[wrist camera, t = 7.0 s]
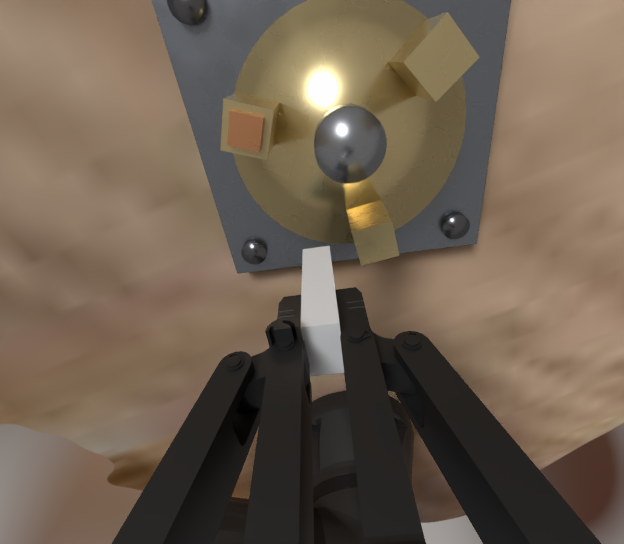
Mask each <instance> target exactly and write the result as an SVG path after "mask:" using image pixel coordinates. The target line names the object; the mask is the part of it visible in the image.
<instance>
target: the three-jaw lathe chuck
mask: <svg viewBox="0 0 624 544" xmlns="http://www.w3.org/2000/svg"><path fill="white" fill-rule="evenodd" d="M479 58H480V57H479V56H478V54H477V53H476V51H475V50H474V48H473V47H472V46H471V44H470V43H469V41H468V40H467V39H466V37H465V36H464V34H463V33H462V31H461V30H460V29H459V27H458V26H457V24H456V23H455V21H454V20H453V19H452V17H451V16H450V14H449V13H448V12H446V13H443V14H440V15H438V16H435V17H432V18H429V19H428V18H427V17H426V16H425V15H423V14H422V13H421V12H420V11H419V10H417V9H416V8H414V7H412V6H411V5H409V4H407V3H406V2H404V1H402V0H307V1H305V2H303V3H301V4H299V5H297V6H295V7H294V8H292V9H291V10H289V11H288V12H287V13H285V14H284V15H283V16H281V17H280V18H278V19H277V20H276V21H275V22H274V23H273V24H272V25H271V26H270V27H269V28H268V29H267V30H266V31H265V32H264V33H263V35H262V36H261V37H260V39H259V40H258V41H257V43H256V44H255V45H254V47H253V48H252V50H251V52H250V53H249V55H248V57H247V59H246V60H245V62H244V64H243V67H242V69H241V72H240V74H239V76H238V79H237V82H236V86H235V90H234V93H233V95H230V96H228V97H226V98H223V114H222V130H221V147H220V150H221V151H226V152H231V153H233V154H234V158H235V162H236V165H237V168H238V171H239V173H240V176H241V178H242V180H243V182H244V184H245V186H246V188H247V190H248V191H249V193H250V194H251V196H252V197H253V198H254V200H255V201H256V203H257V204H258V205H259V206H260V207H261V208H262V209H263V210H264V212H265V213H267V214H268V215H269V216H270V217H271V218H272V219H273V220H274V221H276V222H277V223H279V224H280V225H282V226H283V227H284V228H286V229H288V230H290V231H292V232H294V233H295V234H298V235H300V236H303V237H305V238H308V239H312V240H316V241H320V242H326V243H334V244H348V243H355V246H356V250H357V253H358V257H359V260H360V264H361V266H363V265H367V264H371V263H374V262H378V261H382V260H385V259H389V258H392V257H396V256H399V251H398V246H397V242H396V237H395V232H394V230H396V229H398V228H400V227H401V226H403V225H404V224H406V223H408V222H409V221H410V220H412V219H413V218H414V217H415V216H417V215H418V214H419V213H420V212H421V211H422V210H423V209H424V208H425V207H426V206H427V205H429V204H430V202H431V201H432V200H433V199H434V198H435V196H436V195H437V194H438V193H439V191H440V190H441V188H442V187H443V185H444V184H445V182H446V181H447V179H448V177H449V175H450V173H451V171H452V169H453V167H454V165H455V163H456V160H457V157H458V155H459V152H460V149H461V145H462V141H463V136H464V131H465V122H466V96H465V89H464V82H463V78H462V75H463V74H464V73H465V72H466V71H467V70H468V69H469V68H470V67H471V66H472V65H473V64H474V63H475V62H476V61H477V60H478V59H479Z"/></svg>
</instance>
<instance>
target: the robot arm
mask: <svg viewBox="0 0 624 544" xmlns="http://www.w3.org/2000/svg"><path fill="white" fill-rule="evenodd" d="M277 317H278V318H277V320H276V321H274V322H272V323H271V324H270V325H269V326H267V328H266V331H265V332H266V335H267V339H268V342H269V346H270V348H269V349H267V350H266V351H264V352H262V353H260V354H257V355H255V356H252V357H251V356H250V355H249V354H248V353H246V352H242V351H240V352H234V353H231V354H229V355H227V356H226V357H224V358H223V359H222V360H221V362H220V363H219V364H218V366H217V368H216V369H215V371H214V373H213V375H212V376H211V378H210V380H209V381H208V383H207V385H206V386H205V388H204V390H203V391H202V393H201V395H200V396H199V398H198V400H197V401H196V403H195V405H194V406H193V408H192V410H191V411H190V413H189V415H188V416H187V418H186V420H185V422H184V423H183V425H182V427H181V428H180V430H179V432H178V433H177V435H176V437H175V438H174V440H173V442H172V443H171V445H170V447H169V448H168V450H167V452H166V453H165V455H164V457H163V458H162V460H161V462H160V464H159V465H158V467H157V469H156V470H155V472H154V474H153V475H152V477H151V479H150V480H149V482H148V484H147V485H146V487H145V489H144V490H143V492H142V494H141V496H140V497H139V499H138V500H137V502H136V504H135V506H134V507H133V509H132V511H131V512H130V514H129V516H128V517H127V519H126V521H125V522H124V524H123V526H122V527H121V529H120V531H119V532H118V534H117V536H116V538H115V539H114V541H113V543H112V544H426V542H425V539H424V535H423V531H422V527H421V523H420V519H419V514H418V510H417V506H416V503H415V498H414V494H413V490H412V484H411V479H412V461H413V443H414V434H413V429H412V425H411V422H410V419H411V421H412V423H413V424H414V426H415V428H416V429H417V431H418V433H419V434H420V436H421V438H422V440H423V441H424V443H425V445H426V446H427V448H428V450H429V452H430V453H431V455H432V457H433V458H434V460H435V462H436V464H437V465H438V467H439V469H440V470H441V472H442V474H443V475H444V477H445V479H446V481H447V482H448V484H449V486H450V487H451V489H452V491H453V493H454V494H455V496H456V498H457V499H458V501H459V503H460V505H461V506H462V508H463V510H464V511H465V513H466V515H467V516H468V518H469V520H470V522H471V523H472V525H473V527H474V528H475V530H476V532H477V534H478V535H479V537H480V539H481V540H482V542H483V544H601V543H600V542H599V540H598V539H597V538H596V537H595V536H594V534H593V533H592V532H591V531H590V530H589V529H588V527H587V526H586V525H585V524H584V523H583V521H582V520H581V519H580V518H579V517H578V516H577V514H576V513H575V512H574V511H573V510H572V508H571V507H570V506H569V505H568V504H567V502H566V501H565V500H564V499H563V498H562V497H561V495H560V494H559V493H558V492H557V491H556V490H555V488H554V487H553V486H552V485H551V484H550V482H549V481H548V480H547V479H546V478H545V476H544V475H543V474H542V473H541V472H540V470H539V469H538V468H537V467H536V466H535V465H534V463H533V462H532V461H531V460H530V459H529V457H528V456H527V455H526V454H525V453H524V452H523V450H522V449H521V448H520V447H519V446H518V444H517V443H516V442H515V441H514V440H513V438H512V437H511V436H510V435H509V434H508V433H507V431H506V430H505V429H504V428H503V427H502V425H501V424H500V423H499V422H498V421H497V420H496V418H495V417H494V416H493V415H492V414H491V412H490V411H489V410H488V409H487V408H486V407H485V405H484V404H483V403H482V402H481V401H480V399H479V398H478V397H477V396H476V395H475V393H474V392H473V391H472V390H471V389H470V388H469V386H468V385H467V384H466V383H465V382H464V380H463V379H462V378H461V377H460V376H459V375H458V373H457V372H456V371H455V370H454V369H453V367H452V366H451V365H450V364H449V363H448V361H447V360H446V359H445V358H444V357H443V356H442V354H441V353H440V352H439V351H438V350H437V348H436V347H435V346H434V345H433V344H432V343H431V341H430V340H429V339H428V338H427V337H426V336H424V335H423V334H421V333H418V332H413V331H407V332H402V333H400V334H398V335H397V336H396V337H395V339H388V338H383V337H380V336H378V335H376V334H375V333H373V332H372V330H371V328H370V326H369V322H368V318H367V314H366V309H365V305H364V301H363V297H362V293H361V292H360V291H359V290H358V289H357V288H356V287H355V288H347V289H339V290H335V284H334V277H333V269H332V261H331V253H330V246H323V247H316V248H308V249H303V255H302V292H301V295H296V296H288V297H284V298H283V299H282V300H281V302H280V303H279V308H278V316H277ZM337 373H344V374H345V383H346V391H343V392H337V393H333V394H329V395H326V396H324V397H321V398H319V399H317V400H315V401H313V402H312V392H311V383H310V375H311V376H319V375H328V374H337ZM387 390H388V391H394V392H396V395H397V397H398V399H399V400H400V402H401V404H402V405H403V406H402V405H401V404H400V403H399V402H398V401H396V400H394V399H393V398H391V397H389V395H388V391H387ZM409 417H410V418H409ZM258 426H259V430H258V438H257V445H256V452H255V460H254V467H253V475H252V482H251V490H250V497H249V499H244V498H236V497H231V496H232V493H233V491H234V488H235V485H236V483H237V480H238V478H239V475H240V473H241V470H242V467H243V465H244V462H245V460H246V457H247V455H248V452H249V449H250V447H251V444H252V442H253V439H254V436H255V434H256V431H257V429H258Z"/></svg>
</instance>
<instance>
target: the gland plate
mask: <svg viewBox="0 0 624 544" xmlns="http://www.w3.org/2000/svg"><path fill="white" fill-rule="evenodd" d="M305 1H307V0H152V3H153V6H154V9H155V12H156V15H157V19H158V22H159V25H160V28H161V31H162V35H163V38H164V41H165V44H166V47H167V50H168V54H169V57H170V60H171V63H172V66H173V70H174V73H175V76H176V79H177V82H178V85H179V89H180V92H181V95H182V98H183V101H184V105H185V108H186V111H187V114H188V117H189V121H190V124H191V127H192V130H193V133H194V136H195V140H196V143H197V146H198V149H199V152H200V156H201V159H202V162H203V165H204V168H205V171H206V175H207V178H208V181H209V184H210V187H211V191H212V194H213V197H214V200H215V203H216V207H217V210H218V213H219V216H220V219H221V222H222V226H223V229H224V232H225V235H226V238H227V242H228V245H229V248H230V251H231V254H232V258H233V261H234V264H235V267H236V270H237V273H246V272H254V271H262V270H270V269H278V268H286V267H294V266H302V255H303V249H308V248H316V247H323V246H330V253H331V261H332V262H334V261H342V260H350V259H358V258H359V257H358V253H357V250H356V246H355V243H348V244H334V243H326V242H320V241H316V240H312V239H308V238H305V237H303V236H300V235H298V234H295V233H294V232H292V231H290V230H288V229H286V228H284V227H283V226H282V225H280V224H279V223H277V222H276V221H274V220H273V219H272V218H271V217H270V216H269V215H268V214H267V213H265V212H264V210H263V209H262V208H261V207H260V206H259V205H258V204H257V203H256V201H255V200H254V198H253V197H252V196H251V194H250V193H249V191H248V190H247V188H246V186H245V184H244V182H243V180H242V178H241V176H240V173H239V171H238V168H237V165H236V162H235V158H234V154H233V153H231V152H226V151H221V150H220V147H221V130H222V114H223V98H226V97H228V96H230V95H233V93H234V90H235V86H236V82H237V79H238V76H239V74H240V72H241V69H242V67H243V64H244V62H245V60H246V59H247V57H248V55H249V53H250V52H251V50H252V48H253V47H254V45H255V44H256V43H257V41H258V40H259V39H260V37H261V36H262V35H263V33H264V32H265V31H266V30H267V29H268V28H269V27H270V26H271V25H272V24H273V23H274V22H275V21H276V20H277V19H278V18H280V17H281V16H283V15H284V14H285V13H287V12H288V11H289V10H291V9H292V8H294V7H295V6H297V5H299V4H301V3H303V2H305ZM402 1H404V2H406V3H407V4H409V5H411V6H412V7H414V8H416V9H417V10H419V11H420V12H421V13H422V14H423V15H425V16H426V17H427V18H428V19H429V18H432V17H435V16H438V15H440V14H443V13H446V12H448V13H449V14H450V16H451V17H452V19H453V20H454V21H455V23H456V24H457V26H458V27H459V29H460V30H461V31H462V33H463V34H464V36H465V37H466V39H467V40H468V41H469V43H470V44H471V46H472V47H473V48H474V50H475V51H476V53H477V54H478V56H479V57H480V58H479V59H478V60H477V61H476V62H475V63H474V64H473V65H472V66H471V67H470V68H469V69H468V70H467V71H466V72H465V73H464V74H463V75H462V78H463V82H464V89H465V96H466V122H465V131H464V136H463V141H462V145H461V149H460V152H459V155H458V157H457V160H456V163H455V165H454V167H453V169H452V171H451V173H450V175H449V177H448V179H447V181H446V182H445V184H444V185H443V187H442V188H441V190H440V191H439V193H438V194H437V195H436V196H435V198H434V199H433V200H432V201H431V202H430V204H429V205H427V206H426V207H425V208H424V209H423V210H422V211H421V212H420V213H419V214H418V215H417V216H415V217H414V218H413V219H412V220H410V221H409V222H408V223H406V224H404V225H403V226H401V227H400V228H398V229H396V230H394V232H395V237H396V242H397V246H398V251H399V253H406V252H414V251H422V250H430V249H438V248H446V247H454V246H462V245H470V244H477V238H478V231H479V224H480V217H481V210H482V203H483V195H484V188H485V181H486V174H487V167H488V160H489V153H490V146H491V139H492V131H493V124H494V117H495V110H496V103H497V96H498V89H499V82H500V75H501V67H502V60H503V53H504V46H505V39H506V32H507V25H508V18H509V11H510V3H511V0H402Z"/></svg>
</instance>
